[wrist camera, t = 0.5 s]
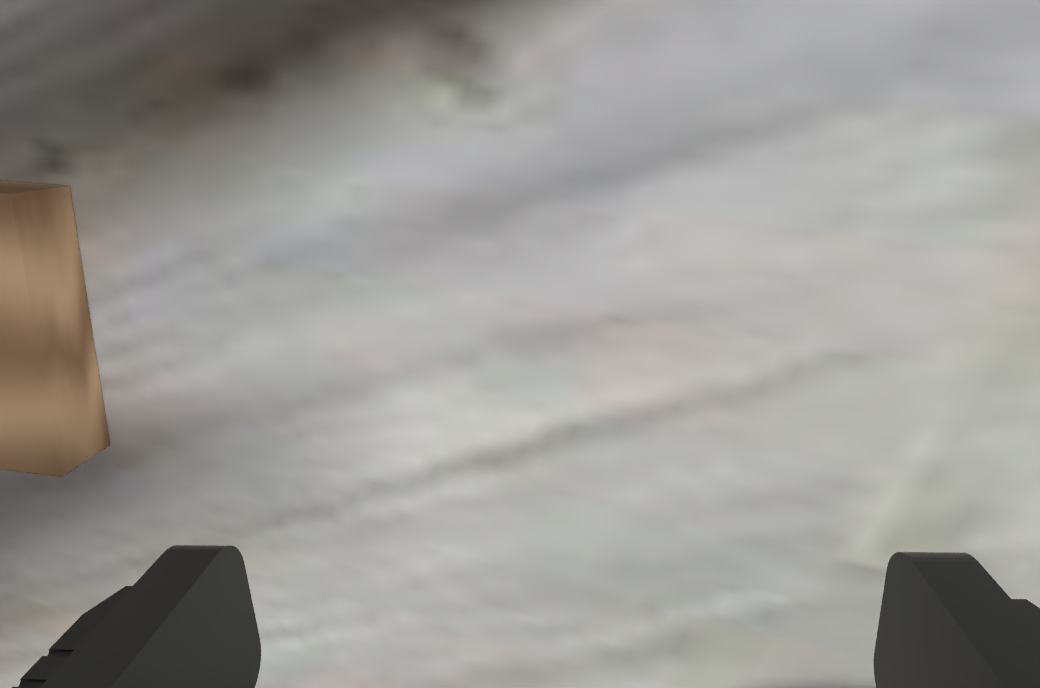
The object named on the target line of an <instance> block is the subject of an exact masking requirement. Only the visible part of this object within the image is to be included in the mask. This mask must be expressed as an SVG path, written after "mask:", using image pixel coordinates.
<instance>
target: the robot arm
mask: <svg viewBox="0 0 1040 688" xmlns="http://www.w3.org/2000/svg"><path fill="white" fill-rule="evenodd" d="M260 661H261V644H260V638H259V633H258V628H257V623H256V618H255V613H254V608H253V604H252V599H251V594H250V589H249V584H248V579H247V574H246V570H245V565H244V561H243V557H242V555H241V553H240V551H239V550H238V549H237V548H236V547H234V546H187V545H176V546H172V547H170V548H169V549H167V550H166V551H165V552H164V553H163V554H162V555H161V556H160V557H159V558H158V559H157V560H156V562H155V563H154V564H153V565H152V566H151V567H150V568H149V569H148V570H147V571H146V572H145V574H144V575H143V576H142V577H141V578H140V579H139V580H138V581H137V582H136V583H135V584H134V585H133V586H125V587H124V588H122V589H121V590H119V591H118V592H116V593H115V594H113V595H112V596H110V597H109V598H107V599H106V600H104V601H103V602H101V603H100V604H98V605H97V606H95V607H93V608H92V609H90V610H89V611H87V612H86V613H84V614H83V615H82V616H81V617H80V618H79V619H78V620H77V621H76V622H75V623H74V624H73V625H72V626H71V627H70V628H69V629H68V630H67V631H66V632H65V633H64V634H63V635H62V636H61V638H60V639H59V640H58V641H57V642H56V643H55V644H54V645H53V646H52V647H51V648H50V649H49V654H48V656H42V657H41V658H40V659H39V660H38V661H37V662H36V663H35V664H34V665H33V666H32V668H31V669H30V670H29V671H28V672H27V673H26V674H25V675H24V676H23V677H22V678H21V682H20V685H19V686H18V687H12V688H255V685H256V682H257V678H258V674H259V668H260ZM874 675H875V682H876V688H1040V608H1038V607H1037V606H1035V605H1034V604H1032V603H1031V602H1029V601H1028V600H1026V599H1010V597H1009V596H1008V595H1007V594H1006V593H1005V592H1004V591H1003V589H1002V588H1001V587H1000V586H999V585H998V584H997V583H996V581H995V580H994V579H993V578H992V577H991V576H990V575H989V574H988V572H987V571H986V570H985V569H984V568H983V567H982V566H981V564H980V563H979V562H978V561H977V560H976V559H975V558H974V557H972V556H971V555H969V554H967V553H926V552H897V553H895V554H894V555H893V556H892V557H891V558H890V560H889V563H888V567H887V572H886V579H885V585H884V592H883V599H882V606H881V612H880V619H879V626H878V632H877V639H876V646H875V653H874Z"/></svg>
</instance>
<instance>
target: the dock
mask: <svg viewBox="0 0 1040 688" xmlns="http://www.w3.org/2000/svg"><path fill="white" fill-rule="evenodd" d="M109 445H110V442H109V435H108V429H107V423H106V416H105V410H104V403H103V397H102V390H101V384H100V378H99V371H98V365H97V358H96V352H95V346H94V339H93V333H92V326H91V320H90V313H89V307H88V301H87V294H86V288H85V281H84V275H83V269H82V262H81V256H80V249H79V243H78V236H77V230H76V224H75V217H74V211H73V204H72V198H71V191H70V186H69V185H56V184H42V183H28V182H15V181H1V180H0V469H3V470H11V471H19V472H27V473H35V474H44V475H52V476H60V477H63V476H64V475H66V474H67V473H69V472H70V471H72V470H73V469H75V468H76V467H78V466H79V465H81V464H82V463H84V462H85V461H87V460H88V459H90V458H91V457H93V456H94V455H96V454H97V453H99V452H100V451H102V450H103V449H105V448H106V447H108V446H109Z"/></svg>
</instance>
